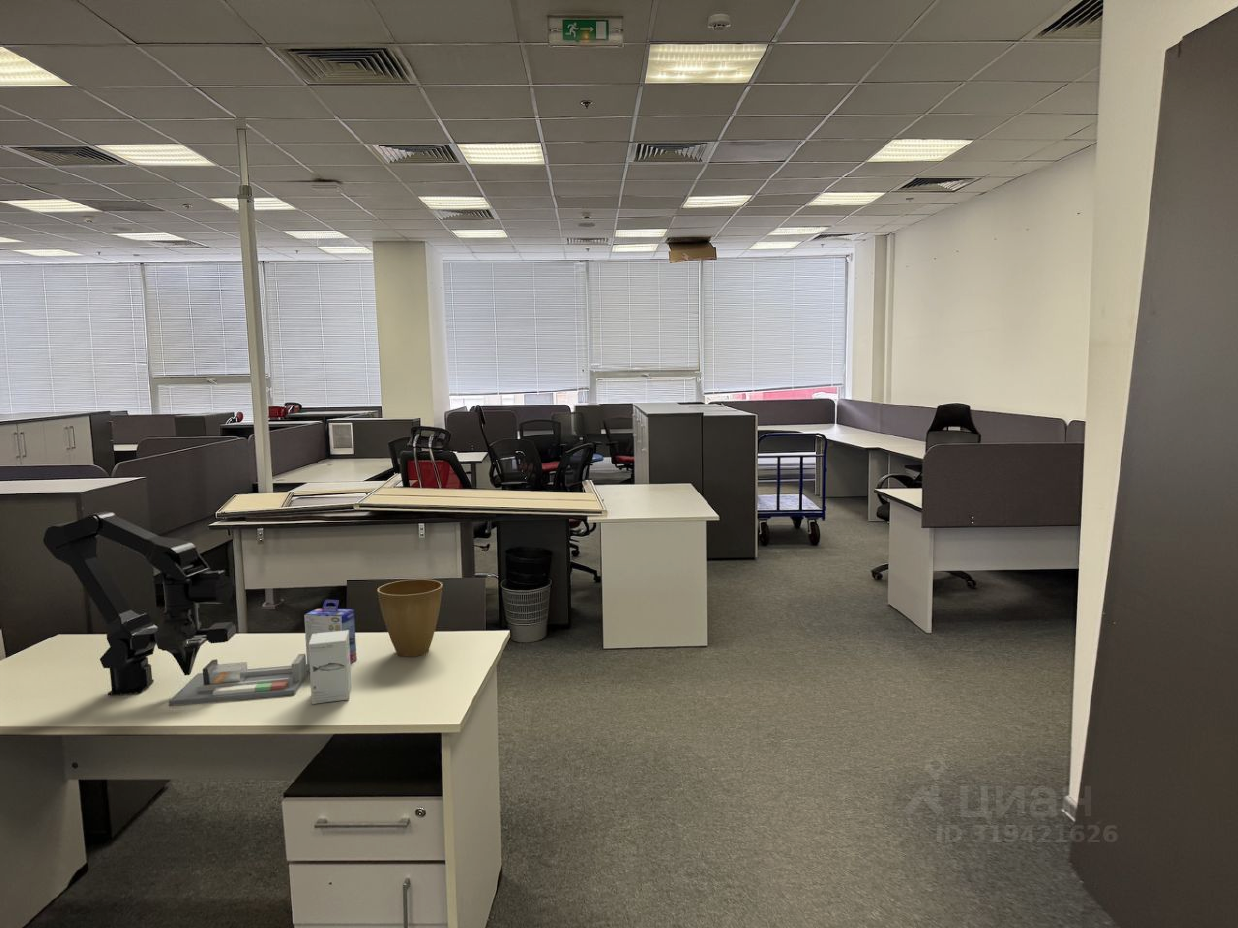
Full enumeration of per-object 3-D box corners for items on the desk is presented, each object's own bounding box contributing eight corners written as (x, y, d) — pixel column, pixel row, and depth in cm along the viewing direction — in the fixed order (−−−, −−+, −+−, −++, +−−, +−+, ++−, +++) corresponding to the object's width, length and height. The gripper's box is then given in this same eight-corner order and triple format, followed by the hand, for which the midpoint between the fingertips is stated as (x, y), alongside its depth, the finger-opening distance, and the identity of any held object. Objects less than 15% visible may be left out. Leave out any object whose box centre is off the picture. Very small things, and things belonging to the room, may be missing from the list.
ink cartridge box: (358, 659, 174) (354, 598, 172) (345, 668, 169) (341, 605, 167) (320, 657, 176) (316, 597, 174) (306, 666, 171) (301, 604, 169)
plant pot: (417, 666, 168) (413, 597, 167) (367, 657, 175) (363, 591, 173) (458, 645, 182) (455, 581, 180) (411, 637, 188) (407, 576, 186)
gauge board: (169, 705, 150) (167, 681, 150) (198, 677, 165) (196, 655, 165) (294, 694, 154) (292, 671, 154) (311, 667, 169) (310, 646, 169)
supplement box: (311, 705, 149) (306, 644, 147) (315, 691, 156) (311, 632, 155) (350, 700, 151) (346, 639, 149) (352, 686, 158) (349, 628, 157)
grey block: (196, 695, 152) (195, 676, 152) (213, 677, 161) (212, 659, 161) (233, 691, 153) (232, 673, 153) (248, 674, 162) (246, 656, 162)
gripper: (113, 617, 147) (120, 694, 148) (214, 610, 150) (221, 685, 151) (139, 602, 158) (146, 673, 159) (233, 595, 161) (239, 665, 162)
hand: (187, 674), depth 158 cm, fingers closed
